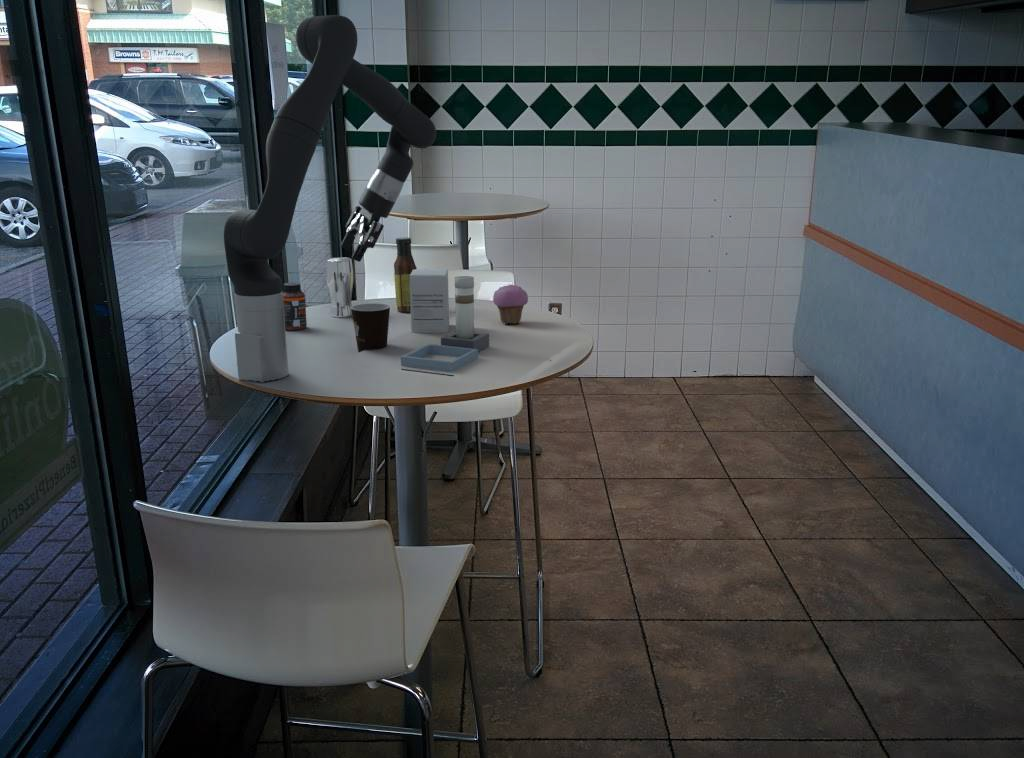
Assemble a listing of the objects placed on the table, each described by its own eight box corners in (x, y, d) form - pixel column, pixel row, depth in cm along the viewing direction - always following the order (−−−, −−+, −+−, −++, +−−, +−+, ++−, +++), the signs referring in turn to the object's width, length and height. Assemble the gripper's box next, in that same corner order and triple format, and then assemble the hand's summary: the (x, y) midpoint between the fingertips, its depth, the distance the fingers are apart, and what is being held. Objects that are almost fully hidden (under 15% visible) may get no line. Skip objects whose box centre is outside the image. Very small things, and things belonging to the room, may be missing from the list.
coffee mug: (390, 355, 197) (388, 310, 195) (351, 355, 197) (348, 311, 194) (393, 342, 208) (391, 300, 206) (356, 343, 208) (354, 300, 205)
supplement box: (414, 328, 223) (412, 268, 219) (449, 328, 223) (448, 268, 219) (410, 336, 214) (408, 274, 210) (447, 336, 214) (446, 274, 210)
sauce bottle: (423, 309, 245) (421, 237, 239) (412, 314, 239) (409, 239, 234) (403, 307, 247) (400, 235, 242) (391, 312, 242) (388, 238, 236)
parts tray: (452, 376, 181) (452, 362, 180) (401, 370, 185) (400, 356, 185) (478, 362, 191) (477, 349, 191) (428, 356, 196) (428, 343, 195)
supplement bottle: (303, 331, 220) (300, 285, 216) (279, 331, 220) (276, 285, 217) (309, 325, 225) (306, 281, 222) (286, 325, 225) (283, 281, 222)
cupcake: (526, 319, 233) (527, 281, 230) (528, 327, 224) (528, 287, 222) (492, 320, 232) (492, 282, 230) (493, 327, 224) (493, 288, 221)
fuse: (469, 351, 196) (468, 279, 192) (452, 350, 198) (451, 278, 193) (477, 347, 200) (477, 276, 195) (461, 345, 201) (459, 275, 197)
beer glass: (329, 312, 241) (326, 257, 237) (355, 312, 241) (353, 257, 237) (327, 318, 234) (324, 261, 230) (354, 317, 235) (351, 261, 231)
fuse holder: (478, 359, 193) (478, 341, 192) (436, 354, 197) (435, 337, 196) (494, 351, 201) (493, 334, 199) (452, 346, 205) (452, 329, 203)
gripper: (358, 178, 210) (327, 238, 213) (378, 194, 199) (345, 257, 202) (384, 191, 215) (353, 250, 218) (405, 208, 204) (373, 270, 207)
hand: (349, 254), depth 210 cm, fingers open, 8 cm apart
